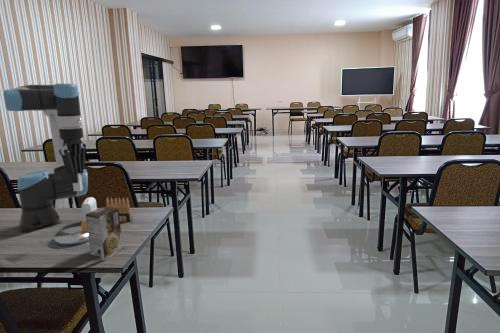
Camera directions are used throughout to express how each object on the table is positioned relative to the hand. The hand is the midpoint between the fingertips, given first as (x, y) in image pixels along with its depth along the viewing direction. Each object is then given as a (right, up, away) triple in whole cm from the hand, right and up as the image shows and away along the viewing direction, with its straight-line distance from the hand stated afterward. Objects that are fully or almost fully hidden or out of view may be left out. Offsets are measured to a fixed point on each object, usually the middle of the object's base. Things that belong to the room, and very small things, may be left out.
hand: (78, 190), depth 128 cm
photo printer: (-4, -17, +19) cm, 26 cm away
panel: (-2, -20, +3) cm, 20 cm away
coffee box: (+14, -22, -8) cm, 27 cm away
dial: (-2, -19, +2) cm, 19 cm away
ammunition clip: (+7, -16, +21) cm, 28 cm away
